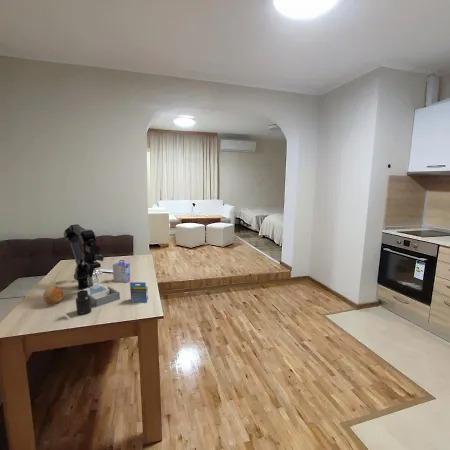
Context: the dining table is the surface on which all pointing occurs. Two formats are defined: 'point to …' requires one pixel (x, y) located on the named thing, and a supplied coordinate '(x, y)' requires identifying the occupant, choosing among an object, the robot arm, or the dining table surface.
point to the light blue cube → (95, 289)
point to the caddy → (101, 294)
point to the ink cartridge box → (121, 272)
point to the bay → (105, 298)
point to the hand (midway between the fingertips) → (90, 276)
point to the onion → (53, 295)
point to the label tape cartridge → (139, 292)
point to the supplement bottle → (83, 303)
